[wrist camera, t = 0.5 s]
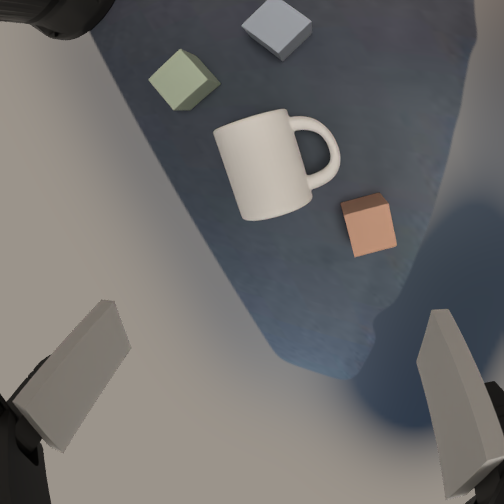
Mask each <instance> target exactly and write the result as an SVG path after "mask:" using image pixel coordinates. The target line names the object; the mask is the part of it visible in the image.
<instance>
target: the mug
mask: <svg viewBox="0 0 504 504" xmlns="http://www.w3.org/2000/svg"><path fill="white" fill-rule="evenodd" d="M296 130H310V131H314V132H316V133H318V134H320V135H321V136H322V137H323V138H324V140H325V141H326V143H327V145H328V148H329V151H330V162H329V164H328V165H327V166H326V167H325V168H324V169H322V170H321V171H319V172H317V173H314V174H312V175H307V174H306V171H305V168H304V164H303V161H302V157H301V154H300V151H299V147H298V144H297V141H296V138H295V134H294V132H295V131H296ZM213 134H214V137H215V140H216V143H217V146H218V149H219V152H220V154H221V157H222V160H223V163H224V166H225V169H226V172H227V175H228V178H229V181H230V184H231V187H232V190H233V193H234V196H235V199H236V202H237V204H238V207H239V210H240V213H241V216H242V218H243V219H245V220H248V221H258V220H265V219H270V218H274V217H278V216H281V215H284V214H287V213H290V212H293V211H295V210H297V209H299V208H301V207H303V206H305V205H306V204H308V203H309V202H310V201H311V200H312V193H311V190H312V189H314V188H317V187H320V186H322V185H324V184H326V183H327V182H329V181H330V180H331V179H332V178H333V177H334V176H335V175H336V173H337V172H338V170H339V167H340V151H339V148H338V145H337V142H336V140H335V138H334V137H333V135H332V134H331V132H330V131H329V130H328V129H327V128H326V127H325V126H324V125H323V124H322V123H321V122H319V121H317V120H315V119H313V118H310V117H305V116H294V117H290V116H289V115H288V112H287V110H286V109H278V110H273V111H269V112H265V113H261V114H257V115H254V116H251V117H247V118H244V119H241V120H238V121H235V122H232V123H230V124H227V125H224V126H222V127H220V128H217V129H216V130H214V132H213Z"/></svg>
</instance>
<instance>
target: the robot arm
mask: <svg viewBox="0 0 504 504" xmlns="http://www.w3.org/2000/svg"><path fill="white" fill-rule="evenodd" d="M113 2H114V0H0V21H5V22H16V23H26V24H30V25H32V26H33V27H35V28H36V29H38V30H39V31H40V32H42V33H43V34H45V35H46V36H48V37H50V38H53V39H60V40H71V39H75V38H78V37H80V36H82V35H83V34H85V33H87V32H88V31H89V30H91V29H92V28H93V27H94V26H95V25H96V24H97V23H98V22H99V21H100V20H101V19H102V18H103V17H104V16H105V14H106V13H107V12H108V10H109V9H110V7H111V5H112V4H113ZM130 349H131V345H130V343H129V340H128V337H127V335H126V332H125V330H124V327H123V324H122V321H121V319H120V316H119V313H118V310H117V307H116V304H115V302H114V301H108V300H101V301H100V302H99V303H98V304H97V305H96V306H95V307H94V308H93V309H92V310H91V312H89V314H88V315H87V316H86V317H85V318H84V319H83V320H82V321H81V322H80V323H79V324H78V325H77V326H76V328H75V329H74V330H73V331H72V332H71V333H70V334H69V335H68V336H67V338H66V339H65V340H64V341H63V342H62V343H61V344H60V345H59V346H58V348H57V349H56V350H55V351H54V352H53V353H52V354H51V355H49V356H48V357H46V358H45V359H44V360H42V361H41V362H40V363H39V364H38V365H37V366H36V367H35V368H34V371H32V372H31V373H30V374H29V375H28V378H26V379H25V380H24V381H23V383H22V384H21V385H20V386H19V387H18V389H17V390H16V391H15V392H14V394H13V395H12V396H11V397H10V398H9V400H8V401H7V402H6V401H5V400H4V398H3V397H2V396H1V394H0V504H51V500H50V495H49V489H48V483H47V477H46V470H45V462H44V453H43V447H42V445H41V443H40V441H41V439H42V438H43V440H44V441H45V442H46V443H47V444H48V445H49V446H50V447H52V448H54V449H55V450H57V451H59V452H61V453H64V451H65V449H66V447H67V446H68V445H69V443H70V441H71V439H72V438H73V436H74V434H75V433H76V432H77V430H78V428H79V427H80V425H81V424H82V422H83V421H84V419H85V417H86V416H87V414H88V413H89V411H90V410H91V408H92V407H93V405H94V403H95V402H96V400H97V399H98V397H99V396H100V394H101V393H102V391H103V390H104V388H105V387H106V385H107V384H108V382H109V381H110V379H111V378H112V376H113V374H114V373H115V372H116V370H117V369H118V367H119V366H120V364H121V362H122V361H123V360H124V358H125V357H126V355H127V354H128V352H129V351H130ZM416 363H417V366H418V369H419V373H420V376H421V380H422V384H423V387H424V391H425V395H426V398H427V403H428V407H429V411H430V415H431V420H432V424H433V429H434V433H435V438H436V443H437V448H438V453H439V458H440V465H441V470H442V477H443V483H444V490H445V497H446V500H448V499H452V498H456V497H460V496H464V495H467V494H468V493H469V492H470V491H471V490H472V489H473V488H475V494H476V495H475V496H474V497H472V498H471V499H470V500H469V501H467V502H466V503H465V504H504V391H503V390H502V389H501V388H500V387H499V386H498V384H497V383H496V382H495V381H492V382H487V383H484V382H483V380H482V377H481V375H480V373H479V370H478V368H477V366H476V364H475V362H474V359H473V357H472V355H471V353H470V351H469V349H468V346H467V344H466V342H465V340H464V338H463V336H462V334H461V332H460V330H459V328H458V326H457V324H456V322H455V321H454V319H453V317H452V315H451V313H450V311H449V309H440V310H432V311H431V314H430V318H429V322H428V325H427V329H426V332H425V336H424V339H423V342H422V345H421V349H420V352H419V355H418V358H417V361H416Z"/></svg>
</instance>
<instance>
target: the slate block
mask: <svg viewBox="0 0 504 504" xmlns="http://www.w3.org/2000/svg"><path fill="white" fill-rule="evenodd" d="M241 26H242V27H243V29H244V30H245V31H246V32H247V33H248V34H249V36H250V37H251V38H253V39H254V40H255V41H257V42H258V43H260V44H261V45H262V46H264V47H265V48H266V49H267V50H269V51H270V52H271V53H273V54H274V55H275V56H276V57H278V58H279V59H280V60H281V61H284V60H285V59H286V58H287V57H288V56H289V55H290V54H291V53H292V52H293V51H294V50H295V49H296V48H297V47H298V46H299V45H300V44H302V43H303V42H304V41H305V40H306V39H307V38H308V37H309V36H310V35H311V34H312V22H311V21H310V20H309V19H308V18H306V17H305V16H304V15H302V14H301V13H300V12H298V11H297V10H295V9H294V8H293V7H291V6H290V5H288V4H287V3H285V2H284V1H282V0H267V1H266V2H265V3H264V4H263V5H262V6H261V7H260V8H259V9H258V10H257V11H256V12H254V13H253V14H252V15H251V16H250V17H249V18H248V19H247V20H246V21H245V22H244V23H243V24H242V25H241Z"/></svg>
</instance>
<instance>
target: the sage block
mask: <svg viewBox="0 0 504 504" xmlns="http://www.w3.org/2000/svg"><path fill="white" fill-rule="evenodd" d="M148 80H149V81H150V83H151V84H152V85H153V86H154V87H155V88H156V90H157V91H158V92H159V93H160V94H161V96H162V97H163V98H164V99H165V100H166V102H167V103H168V104H169V105H170V106H171V108H172V109H173V110H191V109H192V108H193V107H195V106H196V105H197V104H198V103H199V102H200V101H201V100H203V99H204V98H205V97H206V96H207V95H208V94H210V93H211V92H212V91H213V90H214V89H215V88H217V87H218V86H219V85H220V84H221V83H220V82H219V81H218V80H217V79H216V77H215V76H214V75H213V74H212V73H211V72H210V71H209V70H208V68H207V67H206V66H205V65H204V64H203V63H202V62H201V61H200V60H199V58H198V57H197V56H195V55H193V54H191V53H189V52H186V51H184V50H182V49H180V50H178V51H177V52H176V53H175V54H174V55H173V56H172V57H171V58H170V59H169V60H168V61H167V62H166V63H164V64H163V65H162V66H161V67H160V68H159V69H158V70H157V71H156V72H155V73H154V74H153V75H152V76H151V77H150V78H149V79H148Z"/></svg>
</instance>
